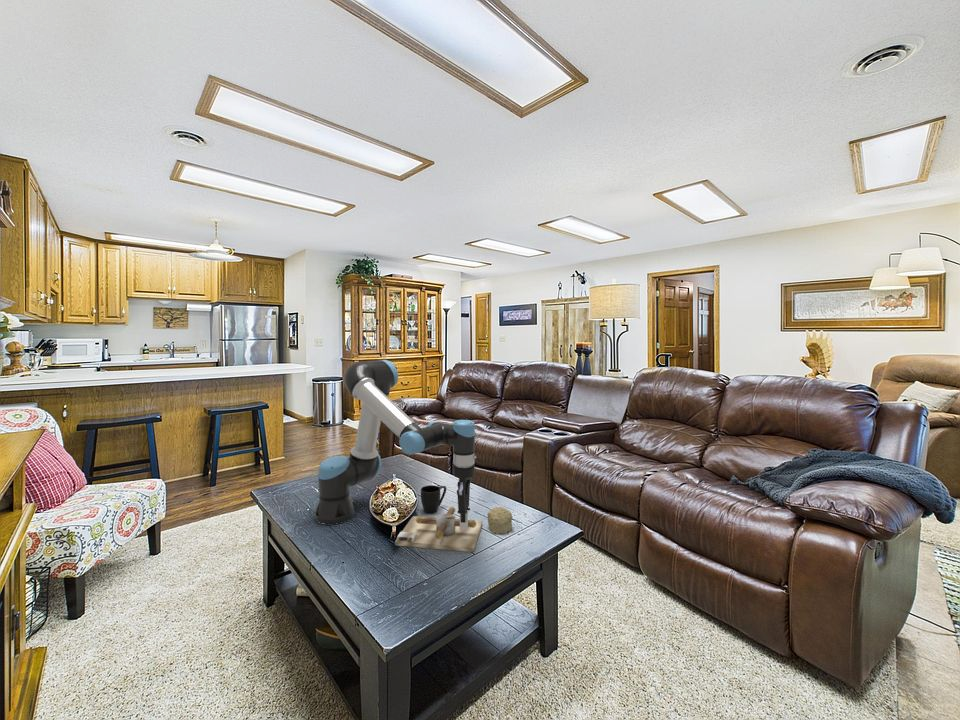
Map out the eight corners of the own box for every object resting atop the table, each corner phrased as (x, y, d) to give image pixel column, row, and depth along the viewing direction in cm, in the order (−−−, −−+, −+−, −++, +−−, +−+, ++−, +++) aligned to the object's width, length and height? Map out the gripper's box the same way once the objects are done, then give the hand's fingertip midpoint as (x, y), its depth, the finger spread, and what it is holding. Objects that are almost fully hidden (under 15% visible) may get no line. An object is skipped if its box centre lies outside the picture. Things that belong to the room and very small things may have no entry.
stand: (395, 545, 144) (394, 537, 144) (412, 519, 164) (412, 512, 164) (473, 552, 140) (473, 544, 140) (482, 525, 160) (482, 517, 160)
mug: (451, 509, 174) (451, 487, 174) (427, 517, 167) (427, 494, 166) (440, 502, 181) (440, 481, 180) (417, 510, 173) (416, 488, 172)
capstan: (406, 544, 142) (406, 528, 142) (424, 515, 164) (424, 501, 164) (470, 549, 139) (470, 533, 138) (480, 519, 161) (480, 505, 160)
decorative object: (514, 538, 157) (516, 511, 162) (506, 533, 149) (509, 505, 154) (491, 535, 161) (494, 509, 166) (482, 531, 153) (485, 503, 158)
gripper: (471, 471, 138) (470, 539, 139) (477, 459, 151) (477, 522, 152) (449, 470, 139) (449, 537, 140) (457, 458, 152) (457, 520, 153)
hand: (463, 529), depth 146 cm, fingers closed
